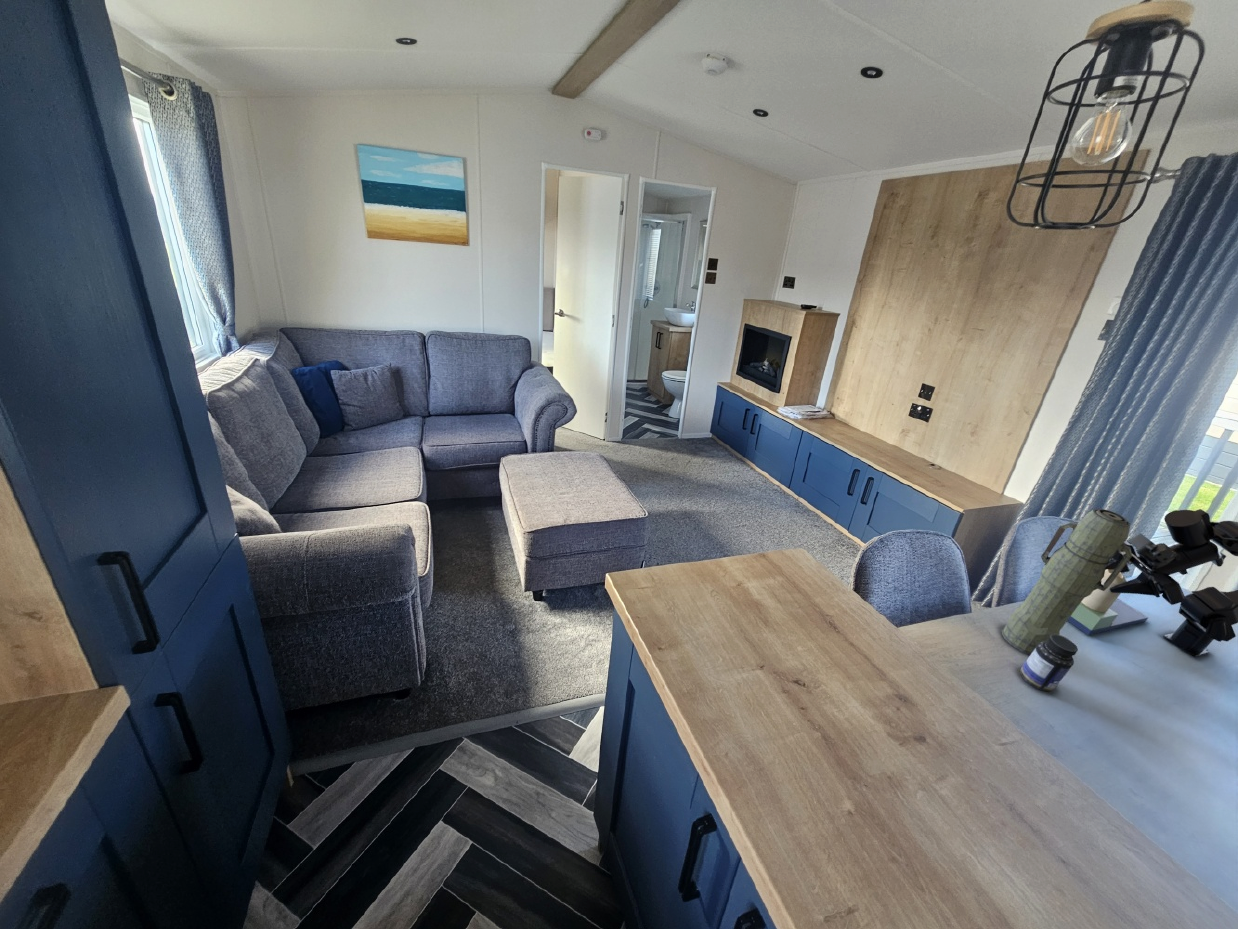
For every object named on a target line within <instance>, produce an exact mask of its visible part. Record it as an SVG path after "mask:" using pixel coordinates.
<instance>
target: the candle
mask: <svg viewBox="0 0 1238 929" xmlns="http://www.w3.org/2000/svg"><path fill="white" fill-rule="evenodd" d="M1113 571H1114V570H1109V569H1107V570H1105V574H1104V577H1103V578H1102V580H1101V581H1102V582H1101V584H1102V585H1104V583H1105V581H1106V580H1107V579H1108V577H1109V576H1110V575H1111V573H1112V572H1113ZM1127 581H1128V580H1127V579H1126V578H1125V576H1124V574H1123V573H1119V574H1118V575H1117V577H1116V578H1115V579H1114V581H1113V582H1112V583H1111V584H1110V586H1109V587H1108V588H1107V589H1106V590H1105V591H1102V590H1099V589H1096V590H1093V592H1092V593H1091V594H1090V595H1089V596H1087V597H1085V598H1084V599H1083V600H1082V601H1081V602H1082V603H1083V604H1084V605H1086V606H1087V607H1089V608H1091V609H1093V610H1095V611H1098V612H1106V611H1107V610H1108V609H1109V608H1110V607H1111V605H1112V604H1113V603H1114V602H1115V600H1116V599H1117V598H1118V599H1119V597H1120V596H1121V594H1122V593H1112V592H1110V590H1109V589H1110V588H1112V587H1114V586H1116V585H1119V584H1121V583H1124V582H1127Z"/></svg>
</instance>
